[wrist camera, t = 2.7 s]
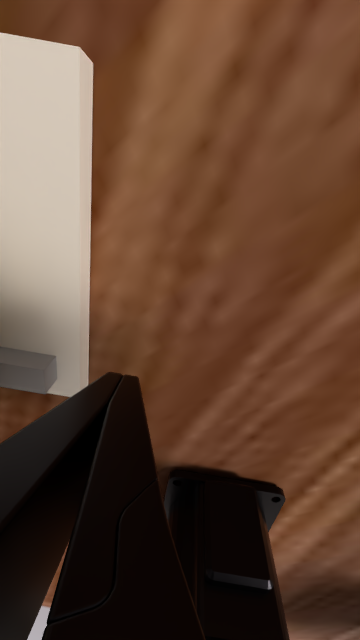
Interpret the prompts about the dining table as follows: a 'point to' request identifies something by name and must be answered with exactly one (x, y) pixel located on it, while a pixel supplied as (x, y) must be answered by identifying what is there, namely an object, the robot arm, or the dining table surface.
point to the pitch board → (44, 215)
